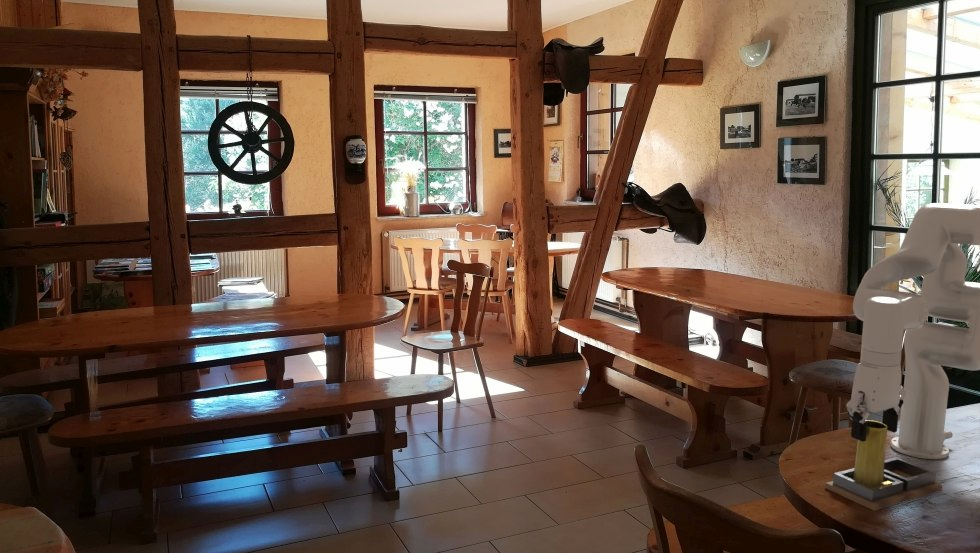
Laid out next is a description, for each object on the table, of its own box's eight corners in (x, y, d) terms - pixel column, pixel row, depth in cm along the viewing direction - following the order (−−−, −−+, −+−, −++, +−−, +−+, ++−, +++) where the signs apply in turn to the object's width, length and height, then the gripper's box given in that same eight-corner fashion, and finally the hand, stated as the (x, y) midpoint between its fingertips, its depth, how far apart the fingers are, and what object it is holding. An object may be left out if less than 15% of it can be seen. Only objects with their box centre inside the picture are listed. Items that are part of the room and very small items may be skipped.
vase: (886, 495, 168) (893, 430, 166) (854, 492, 170) (861, 427, 167) (879, 483, 174) (885, 420, 172) (848, 481, 175) (854, 418, 173)
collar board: (892, 469, 185) (892, 464, 184) (941, 490, 174) (942, 485, 174) (825, 488, 174) (825, 482, 174) (874, 510, 164) (874, 505, 164)
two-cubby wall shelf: (895, 467, 183) (896, 454, 183) (935, 483, 175) (936, 469, 174) (832, 484, 174) (834, 470, 173) (871, 502, 165) (873, 488, 165)
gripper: (891, 346, 174) (885, 421, 177) (836, 358, 166) (830, 436, 170) (924, 355, 167) (916, 432, 171) (868, 368, 160) (861, 449, 163)
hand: (873, 434), depth 170 cm, fingers open, 9 cm apart
